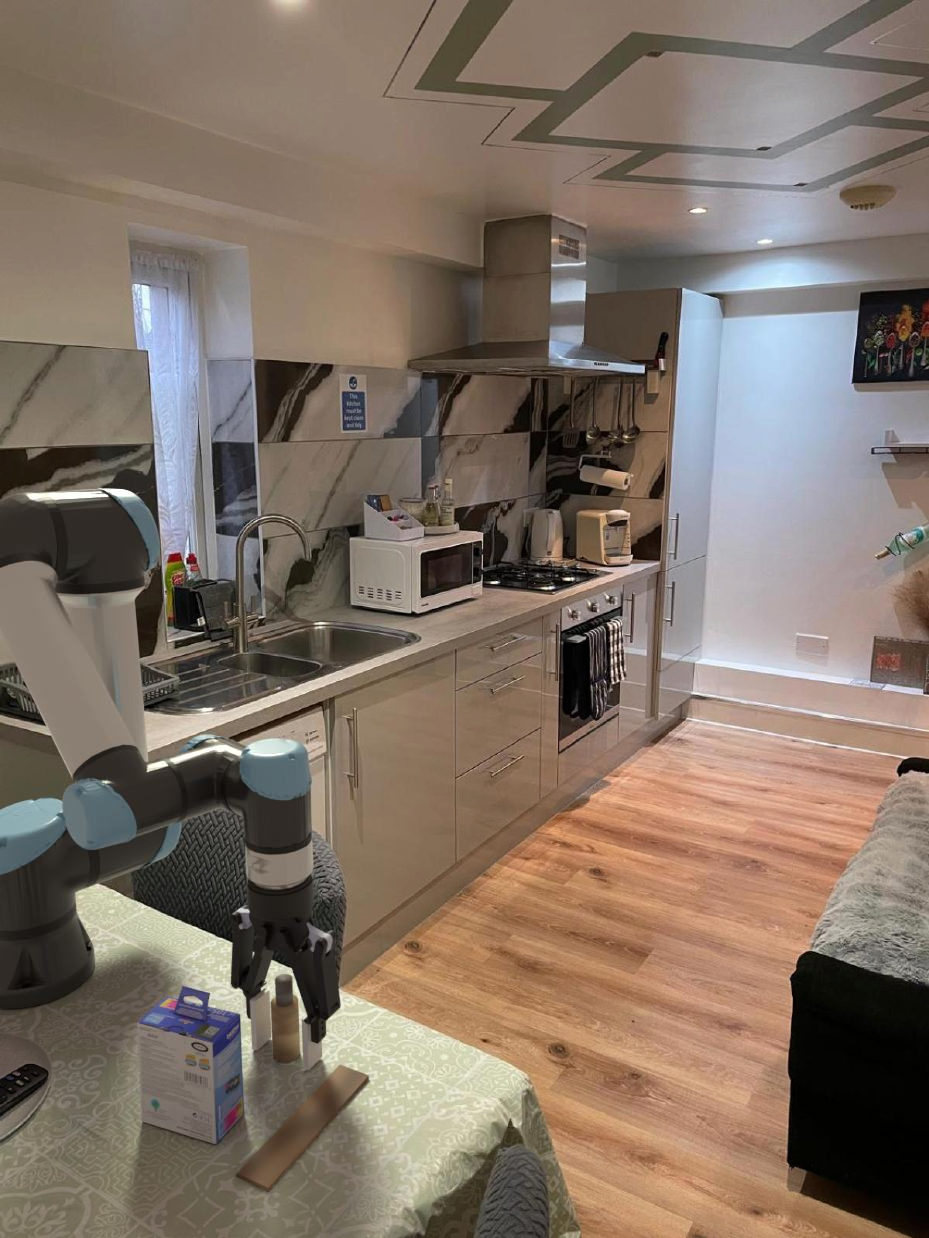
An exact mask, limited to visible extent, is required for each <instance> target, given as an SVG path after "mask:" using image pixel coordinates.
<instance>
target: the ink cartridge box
mask: <svg viewBox="0 0 929 1238" xmlns="http://www.w3.org/2000/svg"><path fill="white" fill-rule="evenodd" d="M210 996H211V993H210V992H207V991H203V990H200V989H195V988H191V987H187V986H185V985H184V986H181V989H180V992H179V995H178V998H174V997H170V996H166V997H165V998H163V999H162V1000H161V1001H159V1003H157V1004H156V1005H155V1006H154V1007H153V1008H151V1009H150V1010H149V1011H148V1012H147V1013H146V1014H145V1015H143V1016H142V1017H141V1018H140V1019H139V1020H138V1021H137V1022H136V1036H137V1048H138V1050H137V1052H138V1053H137V1054H138V1070H139V1088H140V1092H139V1093H140V1109H141V1111H140V1112H141V1113H140V1114H141V1122H142V1123H145V1124H148V1125H151V1126H154V1127H158V1128H162V1129H164V1130H169V1131H171V1132H174V1133H178V1134H181V1135H184V1136H188V1137H191V1138H194V1139H197V1140H201V1141H203V1142H207V1143H211V1144H213V1145H217V1144H218V1143H219V1142H220V1141H221V1140H222V1139H223V1138H224V1136H225V1135H226V1134H227V1133H228V1132H229V1131H230V1130H231V1129H232V1128H233V1127H234V1126H235V1125H236V1123H237V1122H239V1121H240V1119H241V1118H242V1117H243V1116H244V1114H245V1102H244V1101H245V1098H244V1081H243V1077H244V1076H243V1075H244V1074H243V1051H242V1049H243V1047H242V1031H241V1030H242V1029H241V1026H242V1023H241V1019H242V1018H241V1013H239V1012H235V1011H230V1010H225V1009H221V1008H217V1007H212V1006H210V1005H209V1000H210ZM186 997H195V998H197V999H198V1000H200V1001H201V1002H202V1004H200V1003H197V1002H196V1003H195V1002H191V1001H188V1000H184V998H186Z"/></svg>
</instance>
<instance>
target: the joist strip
mask: <svg viewBox="0 0 929 1238" xmlns="http://www.w3.org/2000/svg"><path fill="white" fill-rule="evenodd" d="M369 1078H370V1075H369V1074H366V1073H363V1072H361V1071H358V1070H355V1069H352V1068H350V1067H348V1066H345V1065H343V1064H339V1065H338V1066H337V1067H335V1069H333V1070H332V1072H331V1073H330V1074H329V1075H328V1076H327V1077H326V1078H325V1079H324V1080H323V1081H322V1083H320V1085H319V1086H318V1087H317V1088H316V1089H315V1090H314V1091H313V1092H312V1093H311V1094H310V1095H309V1097H307V1098H306V1099H305V1100H304V1101H303V1102H302V1103H301V1104H300V1105H299V1106H298V1108H297V1109H296V1110H295V1111H294V1112H293V1113H292V1114H291V1115H290V1116H289V1117H288V1118H287V1120H285V1121H284V1122H283V1123H282V1124H281V1126H280V1127H278V1129H277V1130H276V1131H275V1132H274V1133H273V1134H272V1135H271V1136H270V1137H269V1138H268V1139H267V1140H266V1142H265V1143H264V1144H262V1145H261V1147H259V1148H258V1150H257V1151H256V1152H255V1153H254V1154H253V1155H252V1156H251V1157H250V1158H249V1159H248V1160H247V1161H246V1162H245V1163H244V1164H243V1166H242V1167H241V1168H240V1169H239V1170H238V1171H237V1172H236V1177H237V1178H239V1179H241V1180H243V1181H246V1182H247V1183H250V1184H251V1185H254V1186H256V1187H259V1188H260V1189H262V1190H264V1191H267V1192H269V1191H271V1190H272V1189H273V1187H274V1186H275V1185H276V1184H277V1183H278V1181H279V1180H280V1179H281V1178H283V1176H284V1175H285V1173H287V1172H288V1170H290V1168H291V1167H292V1165H294V1163H295V1162H296V1161H297V1160H298V1159H299V1158H300V1157H301V1156H302V1155H303V1154H304V1152H305V1151H306V1150H307V1148H309V1147H310V1146H311V1144H312V1143H313V1142H314V1141H315V1140H316V1139H317V1138H318V1136H320V1134H321V1133H322V1132H323V1131H324V1130H325V1129H326V1128H327V1126H328V1125H330V1123H331V1122H332V1121H333V1119H334V1118H335V1117H336V1116H337V1115H338V1114H339V1113H340V1112H341V1110H342V1109H343V1108H344V1107H345V1106H346V1105H347V1104H348V1103H349V1101H350V1100H351V1099H352V1098H353V1097H354V1096H355V1095H356V1093H357V1092H359V1090H360V1089H361V1088H362V1087H363V1086H364V1084H366V1082H367V1081H368V1080H369ZM338 1112H339V1113H338Z"/></svg>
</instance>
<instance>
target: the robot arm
mask: <svg viewBox="0 0 929 1238" xmlns="http://www.w3.org/2000/svg"><path fill="white" fill-rule="evenodd" d="M160 541H161V539H160V536H159V531H158V527H157V525H156V522H155V518H154V516H153V514H152V512H151V510H150V509H149V508H148V506H146V504H145V502H144V501H143V500H142V499H141V498H140V497H139V496H138V495H137V494H135V493H134V492H132V491H130V490H126V489H121V488H102V487H98V488H87V489H73V490H71V489H70V490H60V491H59V490H58V491H42V492H34V491H33V492H31V491H29V492H28V491H27V492H26V491H25V492H20V493H14V494H10V495H7V496H5V497H3V498H1V499H0V635H1V637H2V639H3V641H4V643H5V645H6V647H7V649H8V651H9V653H10V655H11V657H12V659H13V662H14V663H15V665H16V667H17V670H18V671H19V673H20V675H21V678H22V680H23V681H24V684H25V685H26V687H27V689H28V691H29V693H30V696H31V697H32V699H33V701H34V704H35V706H36V708H37V709H38V712H39V714H40V716H41V718H42V720H43V722H44V724H45V726H46V728H47V730H48V732H49V734H50V736H51V738H52V740H53V743H54V745H55V746H56V749H57V750H58V753H59V754H60V757H61V758H62V760H63V762H64V765H65V766H66V769H67V770H68V773H69V774H70V777H71V779H72V781H73V783H71V784H70V785H69V786H68V787H67V788H65V791H64V793H63V795H62V800H60V799H57V798H53V797H40V798H38V799H35V800H33V799H28V800H27V799H25V800H23V801H18V802H15V803H13V804H10V805H7V806H5V807H3V808H1V809H0V1009H5V1010H6V1009H9V1010H10V1009H12V1010H13V1009H23V1008H30V1007H35V1006H39V1005H42V1004H46V1003H49V1002H52V1001H55V1000H58V999H60V998H62V997H64V996H66V995H68V994H70V993H71V992H72V991H74V990H76V989H78V988H79V987H80V986H81V985H83V984H84V983H85V982H86V981H87V980H88V979H89V978H90V977H91V975H92V974H93V972H94V970H95V966H96V957H95V947H94V944H93V941H92V940H91V937H90V936H89V934H88V932H87V929H86V928H85V927H84V926H85V925H84V924H83V922H82V920H81V918H80V916H79V914H78V910H77V900H76V899H77V898H76V896H77V895H76V893H78V892H79V891H82V890H85V889H88V888H90V887H93V886H95V885H98V884H101V883H103V882H106V881H109V880H112V879H114V878H117V877H120V876H122V875H125V874H128V873H131V872H134V871H136V870H142V869H145V868H148V867H149V866H151V865H152V864H153V863H156V862H158V861H160V860H163V859H165V858H167V857H168V856H169V855H170V854H171V853H172V852H173V851H174V849H175V848H176V847H177V844H178V843H179V840H180V836H181V832H182V822H184V821H187V820H189V819H193V818H195V817H199V816H202V815H205V814H208V813H210V812H213V811H216V810H220V809H223V810H225V811H227V812H230V813H231V814H234V815H236V816H239V817H242V823H243V833H244V834H243V835H244V836H243V837H244V838H243V839H244V850H245V851H244V853H245V854H244V855H245V870H246V872H245V873H246V877H247V879H246V901H247V904H244V905H243V906H241V907H240V908H238V909H237V910H236V911H233V913H231V914H230V915H229V921H230V926H231V929H232V942H231V943H232V945H231V947H232V949H231V967H230V968H231V969H230V985H231V987H232V988H233V989H235V990H237V989H240V990H241V991H242V994H243V997H244V998H245V1008H246V1017H247V1019H248V1020H250V1030H251V1032H250V1033H251V1049H252V1050H254V1051H258V1050H259V1049H261V1048H262V1047H263V1046H264V1045H265V1044H266V1043H267V1042H268V1041H270V1040H271V1039H272V1024H271V999H270V998H271V997H270V989H268V988H263V987H264V986H266V985H267V984H268V981H266V978H267V976H268V972H269V969H270V967H271V963H272V960H273V956H274V954H275V952H277V953H279V954H281V955H283V957H284V960H285V962H286V965H287V966H290V968H291V971H292V974H293V977H294V979H295V983H296V986H297V988H298V992H299V996H300V997H301V1000H302V1004H303V1007H304V1010H305V1013H306V1014H305V1015H304V1016H303V1017H302V1018H301V1042H302V1064H303V1069H304V1070H306V1071H310V1070H311V1069H312V1068H313V1067H314V1066H315V1065H316V1064H317V1063H318V1062H319V1060H321V1058H322V1057H323V1041H322V1040H324V1039H325V1037H326V1036H327V1021H328V1020H329V1019H330V1018H331V1017H333V1015H334V1014H335V1013H336V1012H337V1011H338V1010H340V1008H341V1005H342V1004H341V1003H342V1002H341V997H340V996H341V995H340V987H339V981H338V972H337V963H336V956H335V955H336V954H335V946H336V942H337V933H336V932H335V931H334V930H332V929H330V930H328V931H327V932H324V931H323V930H321V929H319V928H317V927H316V923H315V920H314V919H313V916H312V915H313V914H312V911H313V907H314V904H315V903H314V902H315V889H314V887H315V884H314V875H313V870H314V852H313V851H314V849H313V835H312V831H313V828H312V827H313V824H312V823H313V822H312V782H313V780H312V779H313V778H312V774H311V770H310V761H309V753H308V750H307V748H306V747H305V745H304V744H303V743H302V742H300V741H297V740H294V739H284V738H283V739H282V738H280V737H273V738H272V737H271V738H263V739H260V740H257V741H253V742H251V743H248V745H245V744H242V743H240V742H238V741H236V740H234V739H231V738H229V737H223V736H221V735H220V736H218V735H216V734H210V733H209V734H204V733H203V734H199V735H197V736H194V737H192V738H191V739H190V740H189V741H188V742H186V744H184V745H183V746H182V747H181V748H180V749H179V751H178V753H177V754H172V755H169V756H165V757H160V758H156V759H154V760H151V761H149V753H148V742H147V741H148V740H147V729H146V727H147V726H146V718H145V717H146V716H145V707H144V694H143V683H142V682H143V681H142V672H141V670H142V669H141V659H140V650H139V649H140V648H139V634H138V625H137V624H138V623H137V613H136V601H135V600H136V599H137V597H138V596H139V595H140V593H141V592H142V591H143V590H144V589H145V588H146V580H145V573H148V572H150V571H151V570H152V569H154V568H155V567H156V565H157V564H158V562H159V560H158V558H159V557H160V555H161V542H160ZM62 602H64V603H65V604H66V606H67V610H66V608H65V606H64V605H63V603H62ZM255 932H256V939H254V937H255ZM254 940H255V943H254ZM262 988H263V989H262Z"/></svg>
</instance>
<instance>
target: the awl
mask: <svg viewBox="0 0 929 1238" xmlns="http://www.w3.org/2000/svg"><path fill="white" fill-rule="evenodd" d="M274 984H275V985H274V988H275V990H274V991H275V996H274V997H273V998H272V999H270V1015H271V1042H272V1043H271V1045H272V1046H271V1047H272V1058H273V1061H275V1062H277V1063H279V1064H280V1063H281V1064H288V1063H291V1062H294V1061H296V1060H297V1059H298V1058H299V1057H300V1055H301V1047H300V1046H301V1043H300V1010H299V998H298V996H296V995H295V994H294V989H293V988H294V987H293V985H294V984H293V976H292V975H291V974H289V973H281V974H279V975H277V976H276V977H275V978H274Z"/></svg>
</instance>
